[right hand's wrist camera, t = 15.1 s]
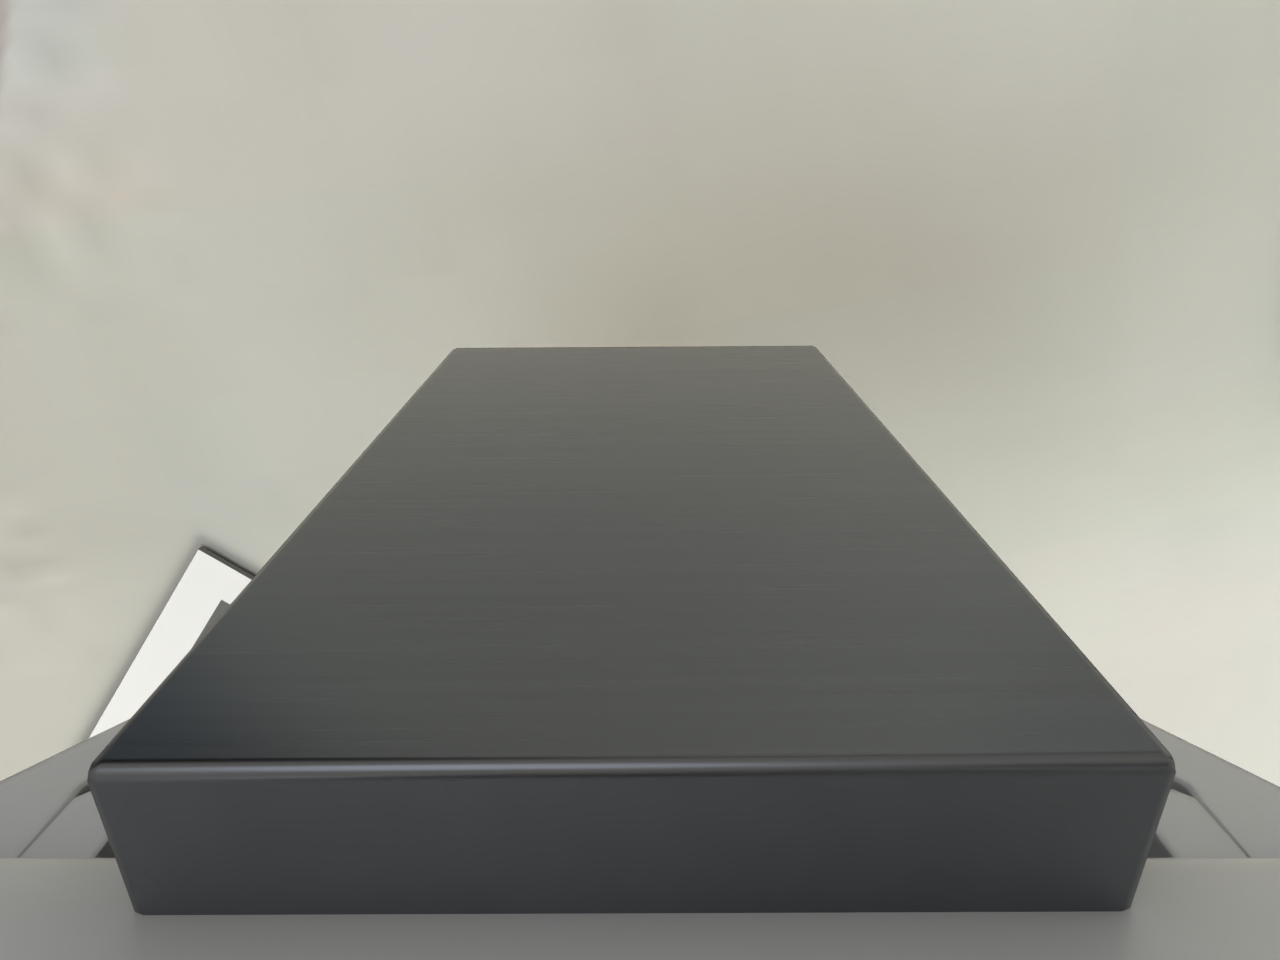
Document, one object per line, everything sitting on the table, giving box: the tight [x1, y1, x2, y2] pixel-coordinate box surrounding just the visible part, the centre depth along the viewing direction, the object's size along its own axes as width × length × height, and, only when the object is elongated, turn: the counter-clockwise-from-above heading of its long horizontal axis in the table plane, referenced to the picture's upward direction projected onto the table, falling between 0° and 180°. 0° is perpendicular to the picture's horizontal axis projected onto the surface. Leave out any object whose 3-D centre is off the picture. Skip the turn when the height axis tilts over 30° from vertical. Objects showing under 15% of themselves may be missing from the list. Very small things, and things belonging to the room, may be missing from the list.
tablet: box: [89, 547, 255, 738], centre depth 49 cm, size 32×20×1 cm, turn 144°
